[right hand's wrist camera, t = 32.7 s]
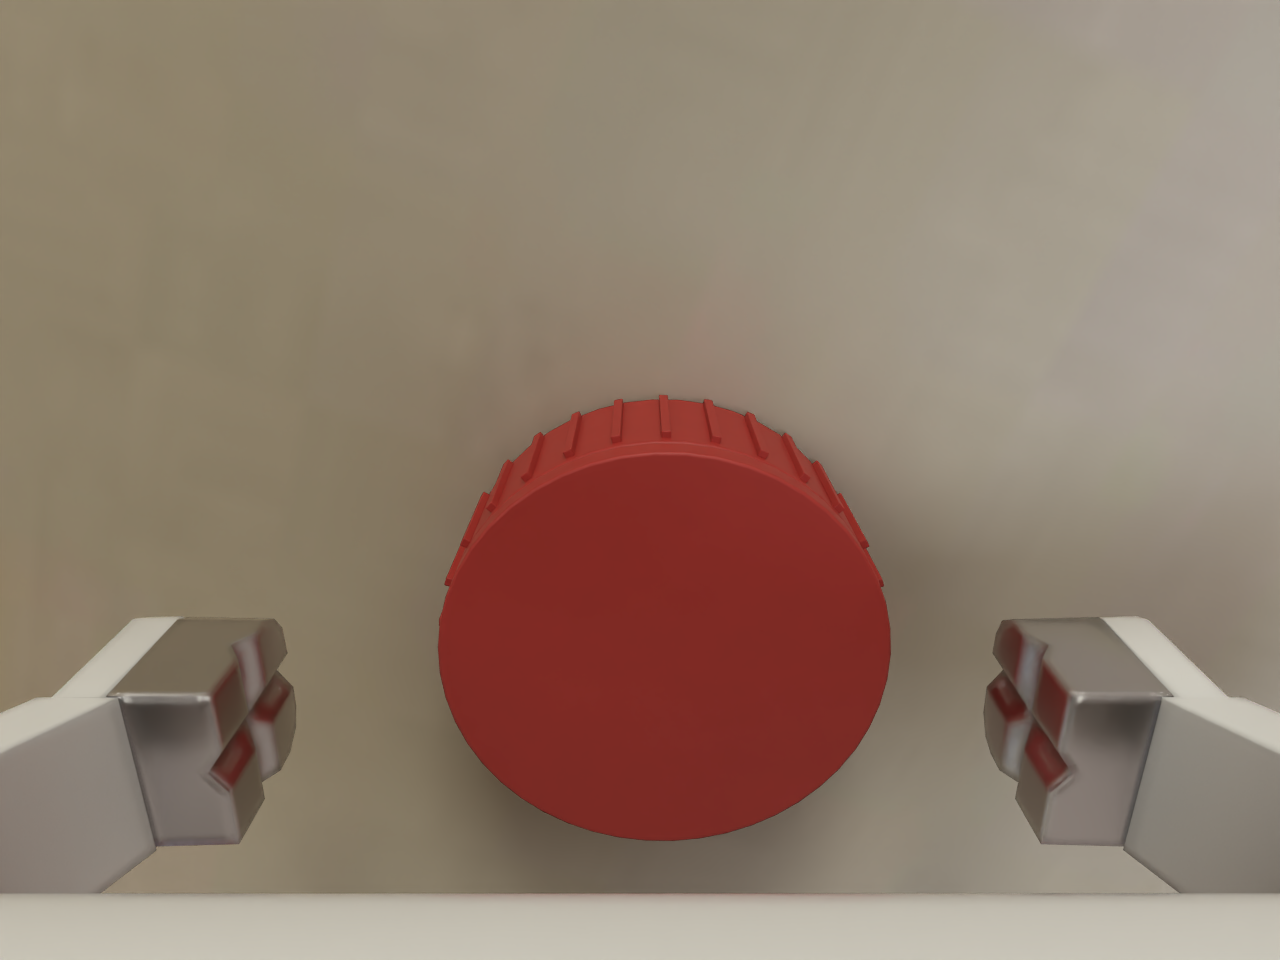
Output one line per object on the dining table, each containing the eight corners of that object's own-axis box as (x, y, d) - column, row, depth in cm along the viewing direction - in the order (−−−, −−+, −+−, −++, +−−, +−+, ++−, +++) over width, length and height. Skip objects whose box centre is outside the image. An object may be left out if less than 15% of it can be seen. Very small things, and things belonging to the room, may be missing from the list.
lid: (400, 464, 12) (353, 528, 10) (805, 337, 11) (839, 382, 9) (542, 782, 14) (526, 888, 12) (896, 690, 13) (939, 785, 11)
